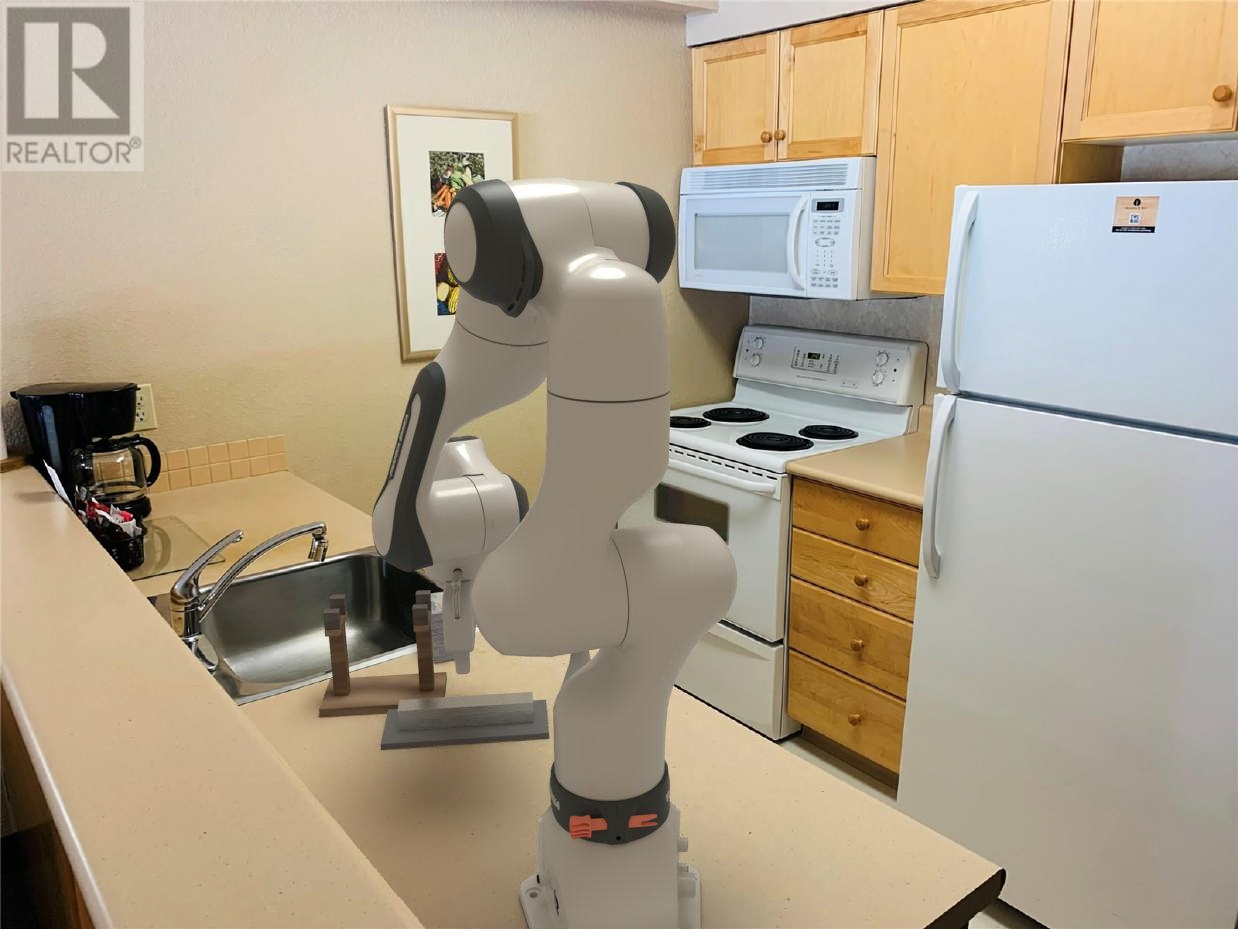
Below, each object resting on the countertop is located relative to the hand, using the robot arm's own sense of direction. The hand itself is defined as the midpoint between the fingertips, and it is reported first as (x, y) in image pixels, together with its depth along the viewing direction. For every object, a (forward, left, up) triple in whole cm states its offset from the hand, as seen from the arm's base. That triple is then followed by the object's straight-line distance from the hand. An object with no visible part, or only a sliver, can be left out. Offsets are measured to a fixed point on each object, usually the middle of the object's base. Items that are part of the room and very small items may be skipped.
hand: (464, 656), depth 127 cm
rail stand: (+10, +12, -11) cm, 19 cm away
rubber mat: (+1, 0, -11) cm, 11 cm away
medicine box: (+24, +5, -11) cm, 27 cm away
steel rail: (+1, 0, -10) cm, 10 cm away
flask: (+5, -16, -11) cm, 20 cm away
